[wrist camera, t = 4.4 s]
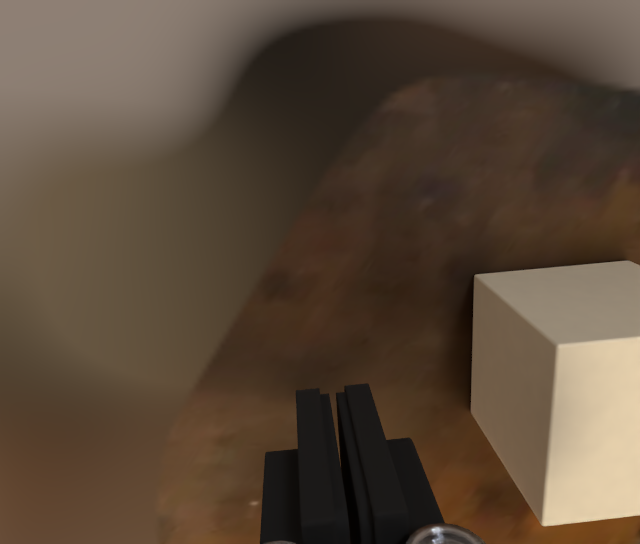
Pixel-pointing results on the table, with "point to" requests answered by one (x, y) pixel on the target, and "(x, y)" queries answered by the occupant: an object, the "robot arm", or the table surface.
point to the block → (562, 386)
